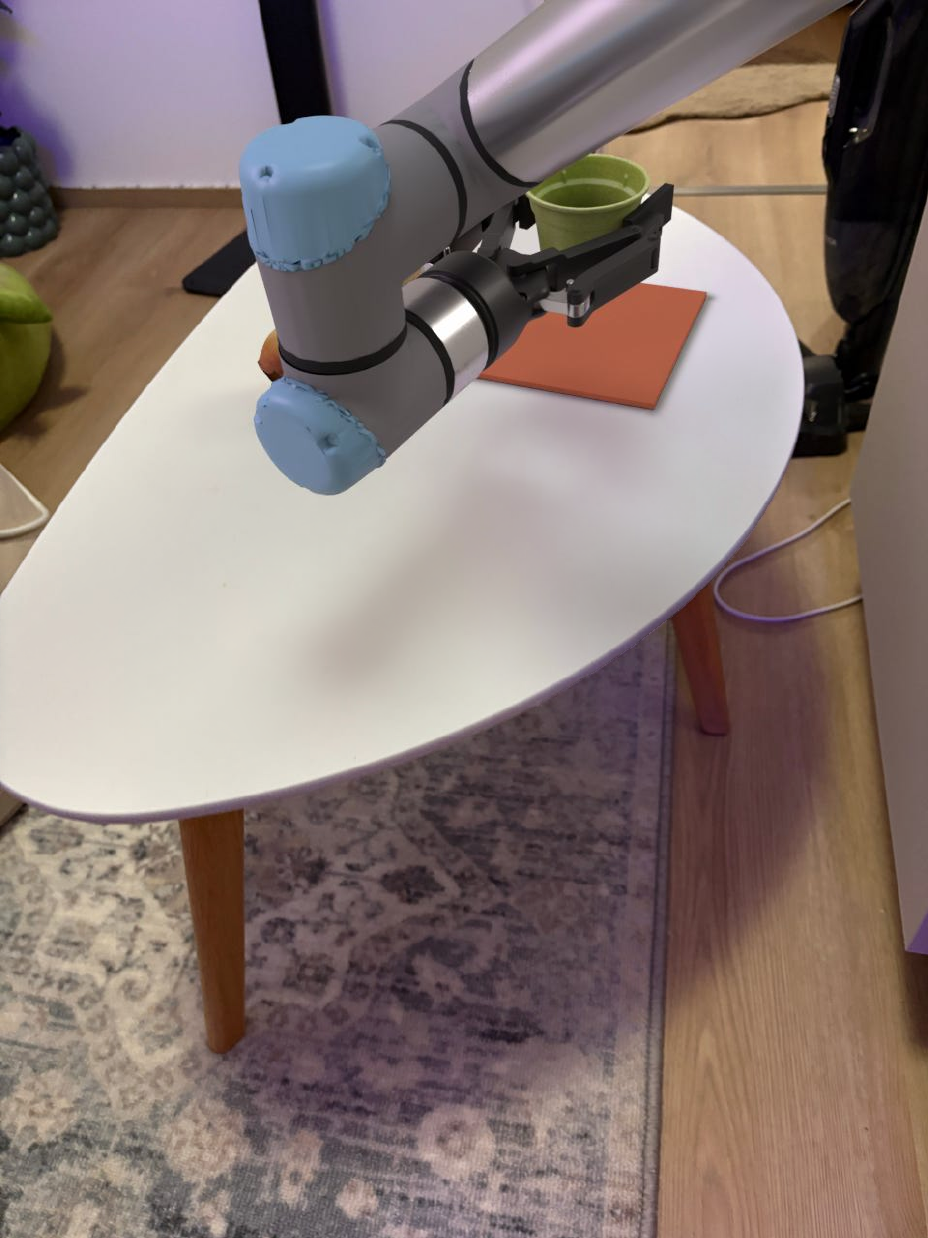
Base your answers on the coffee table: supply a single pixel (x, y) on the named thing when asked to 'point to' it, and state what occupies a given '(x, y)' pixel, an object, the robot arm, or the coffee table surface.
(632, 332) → the terracotta mat
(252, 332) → the coffee table surface
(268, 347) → the fruit
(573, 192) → the plant pot
